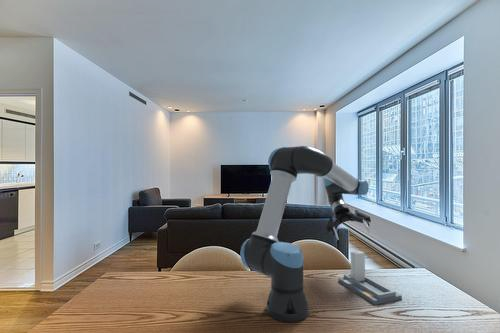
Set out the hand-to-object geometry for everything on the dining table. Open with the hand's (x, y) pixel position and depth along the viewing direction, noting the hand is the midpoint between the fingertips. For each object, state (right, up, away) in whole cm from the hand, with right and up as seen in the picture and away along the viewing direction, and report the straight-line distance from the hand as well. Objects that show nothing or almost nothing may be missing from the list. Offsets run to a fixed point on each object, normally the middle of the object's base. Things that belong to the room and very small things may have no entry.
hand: (353, 233), depth 120 cm
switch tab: (+2, -20, +1) cm, 21 cm away
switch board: (+4, -22, -5) cm, 23 cm away
